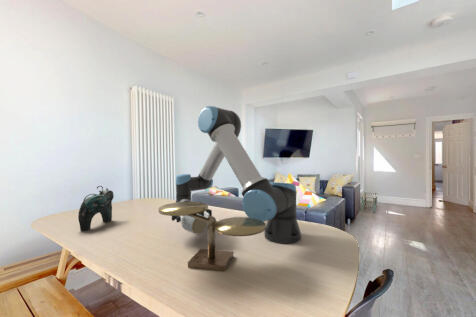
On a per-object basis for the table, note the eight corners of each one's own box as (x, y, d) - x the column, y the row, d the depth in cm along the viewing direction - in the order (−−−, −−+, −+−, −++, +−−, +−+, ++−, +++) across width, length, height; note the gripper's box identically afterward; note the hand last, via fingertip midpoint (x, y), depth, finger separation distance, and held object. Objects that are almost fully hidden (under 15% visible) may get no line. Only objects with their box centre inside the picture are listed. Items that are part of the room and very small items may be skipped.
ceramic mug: (192, 236, 82) (192, 216, 82) (181, 232, 88) (181, 212, 88) (214, 230, 90) (214, 211, 90) (202, 226, 95) (202, 208, 95)
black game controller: (106, 219, 122) (106, 183, 122) (117, 219, 121) (116, 183, 121) (75, 231, 103) (75, 188, 103) (88, 231, 102) (87, 189, 102)
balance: (268, 255, 75) (267, 204, 75) (262, 281, 59) (262, 216, 59) (174, 247, 83) (174, 201, 83) (148, 268, 67) (147, 211, 67)
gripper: (209, 213, 108) (223, 225, 88) (162, 218, 100) (166, 233, 79) (208, 198, 108) (223, 207, 88) (162, 202, 100) (165, 213, 79)
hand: (196, 219), depth 83 cm, fingers closed on ceramic mug, 9 cm apart
